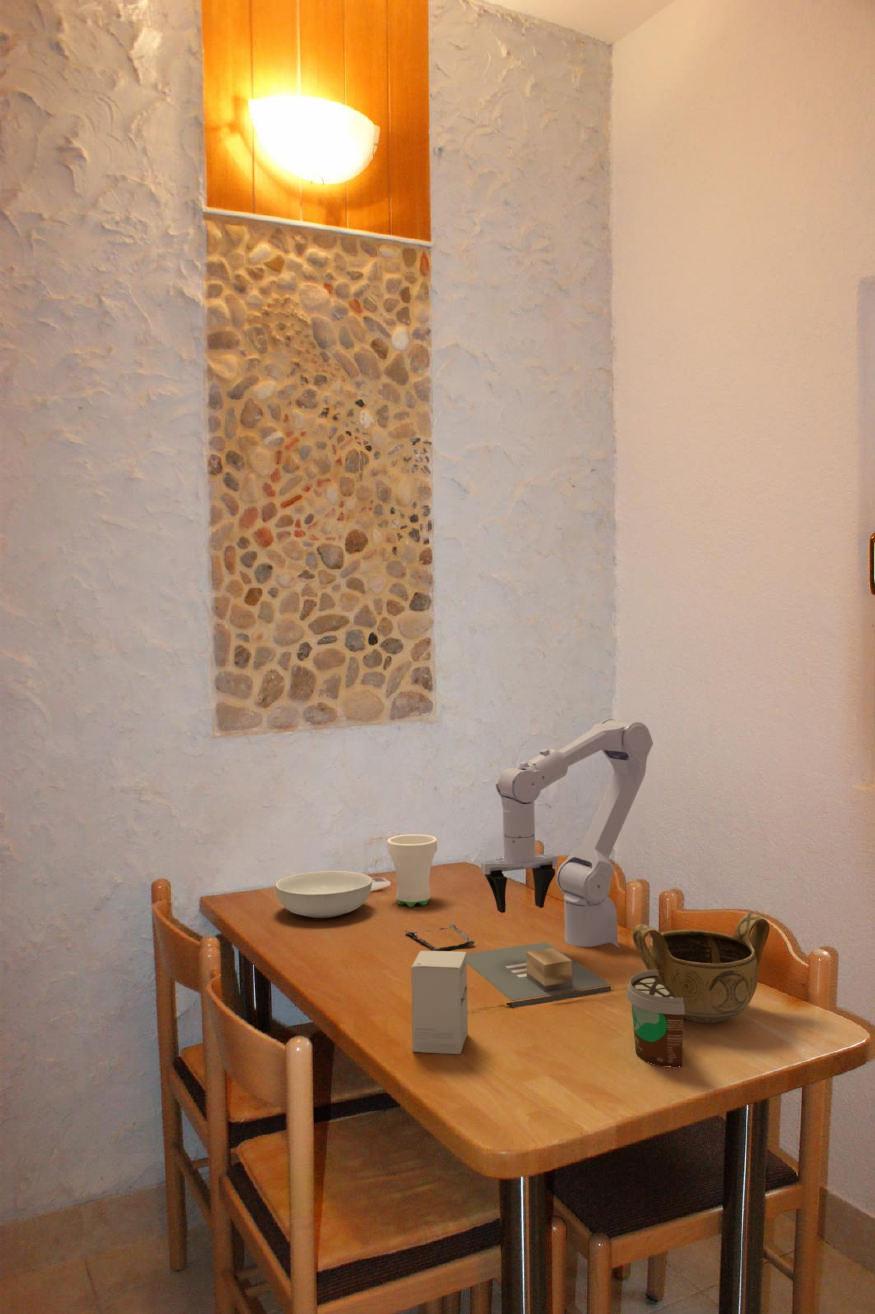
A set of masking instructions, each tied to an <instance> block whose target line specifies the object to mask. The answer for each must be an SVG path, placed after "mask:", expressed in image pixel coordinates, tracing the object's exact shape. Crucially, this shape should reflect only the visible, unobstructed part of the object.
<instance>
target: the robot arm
mask: <svg viewBox="0 0 875 1314" xmlns="http://www.w3.org/2000/svg"><path fill="white" fill-rule="evenodd" d="M653 744H654V742H653V739H652V736H651V733H650V730H649V728H648V727H647V726H646V724H645V723H642V722H640V721H634V722H633V721H624V720H615V719H613V718H606V719H603V720H602V721H601V722H598V723H596V724H594V725H592V728H591V729H589V730H588V731H586V732H585V733H584V734H582V735H580V736H579V737H577V738H576V739H574V740H573V741H572V742H570V743H569V744H567V745H565V746H564V747H563V748H561V749H559V750H557V749H554V748H549V749H548V748H542V749H541V750H540V751H539V755H537V756H535V757H533V758H531V759H529V760H528V761H521V762H519V766H518V768H516V767H515V768H513V767H509V768H507V769H505V770H503V772H502V773H501V774H500V776H499V778H498V782H497V783H495V789H496V792H497V795H499V796H500V799H501V806H502V833H503V834H502V835H503V838H502V839H503V856H502V857H500V858H499V857H498V858H495V859H490V860H486V861H485V860H483V861H480V873H482V874H483V875H484V877H485V878H486V880H487V883H488V884H489V886H490V889H491V891H492V894H493V897H494V901H495V905H496V910H497V911H498V912H499V913H501V914H504V913H506V909H507V908H506V907H507V906H506V905H507V904H506V889H507V882H508V877H506V876H505V875H504V873H503V872H511V871H518V870H520V871H521V870H528V869H531V870H532V875H533V883H534V905H535V906H536V907H538V908H539V909H542V908H544V907H545V901H546V898H547V894H548V890H549V888H550V885H551V882H552V881H553V879H554V877H555V880H556V885H557V887H558V888H559V889H560V891H561V892H562V898H564V901H563V903H564V941H565V943H566V944H568V945H571V946H574V947H581V948H583V947H584V948H591V947H596V946H601V945H605V944H610V943H611V944H612V945H614V946H616V947H617V948H620V947H621V946H620V945H619V944H618V943H619V942H618V913H617V908H616V905H615V902H614V901H613V900H612V899H611V898H610V897H608V895H609V894H610V891H611V885H612V882H611V881H612V877H613V874H614V872H615V868H614V865H612V862H611V859H610V856H611V853H612V852H613V849H614V847H615V845H616V841H617V839H618V837H619V835H620V833H621V830H622V828H623V826H624V824H625V821H626V819H627V817H628V814H629V813H630V810H631V808H632V807H633V806H632V805H633V803H634V801H635V798H636V796H637V794H638V791H639V790H640V787H641V785H642V782H643V780H644V778H645V775H646V771H647V760H648V757H649V754H650V752H651V750H652V747H653ZM599 751H602V753H603V754H604V756H605V757H606V759H607V760H608V762H609V763H610V764H611V766H612V769H613V771H614V772H613V775H612V777H611V780H610V782H609V784H608V786H607V789H606V791H605V793H604V795H603V797H602V800H601V802H600V804H599V806H598V809H597V811H596V813H595V814H594V815H595V816H594V817H593V820H592V822H591V824H590V827H589V828H588V831H587V833H586V836H585V837H584V841H583V842H582V844H581V845H580V846H578V847H576V848H575V849H573V850H571V851H570V852H569V855H568V857H567V858H566V860H565V861H563V862H562V863H561V864H560V865H559V858H558V855H557V854H554V853H548V854H536V830H535V829H536V828H535V826H536V825H535V824H536V823H535V822H536V821H535V801H536V800H537V799H538V797H539V796H540V794H541V791H542V790H543V789H545V788H547V787H549V786H550V785H552V784H554V783H555V782H557V781H558V780H560V779H562V778H564V777H565V776H567V774H568V770H569V767H571V766H573V765H574V764H576V763H578V762H580V761H582V760H584V759H586V758H588V757H590V756H592V755H594V754H595V753H598V752H599ZM558 866H559V868H558V869H557V872H556V867H558ZM555 875H556V876H555Z"/></svg>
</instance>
